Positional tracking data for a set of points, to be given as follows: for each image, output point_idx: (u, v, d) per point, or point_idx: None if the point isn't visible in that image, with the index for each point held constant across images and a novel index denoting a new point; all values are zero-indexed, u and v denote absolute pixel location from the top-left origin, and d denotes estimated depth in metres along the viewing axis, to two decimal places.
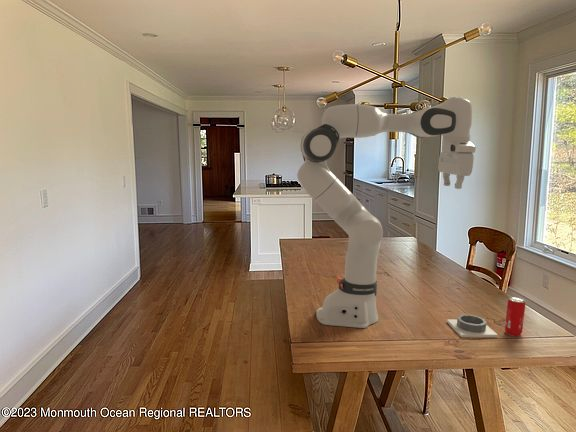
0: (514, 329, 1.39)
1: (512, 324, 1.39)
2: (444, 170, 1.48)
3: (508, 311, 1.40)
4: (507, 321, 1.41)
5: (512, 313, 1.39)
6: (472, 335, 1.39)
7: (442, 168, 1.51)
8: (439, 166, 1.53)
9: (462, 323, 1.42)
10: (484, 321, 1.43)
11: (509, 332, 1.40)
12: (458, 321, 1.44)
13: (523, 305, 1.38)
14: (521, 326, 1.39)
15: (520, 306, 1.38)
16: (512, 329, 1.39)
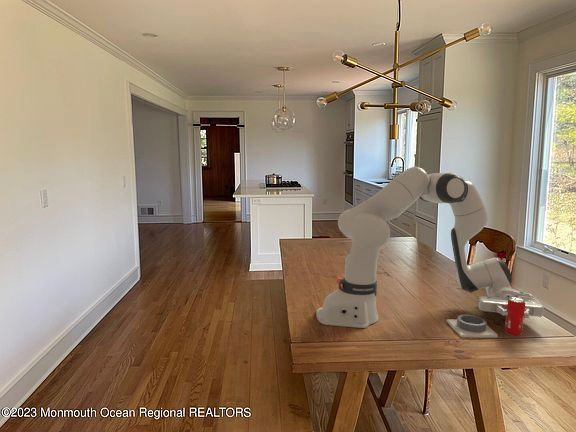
0: (514, 329, 1.39)
1: (512, 324, 1.39)
2: (501, 302, 1.46)
3: (508, 311, 1.40)
4: (507, 321, 1.41)
5: (512, 313, 1.39)
6: (472, 335, 1.39)
7: (493, 301, 1.47)
8: (485, 300, 1.48)
9: (462, 323, 1.42)
10: (484, 321, 1.43)
11: (509, 332, 1.40)
12: (458, 321, 1.44)
13: (523, 305, 1.38)
14: (521, 326, 1.39)
15: (520, 306, 1.38)
16: (512, 329, 1.39)
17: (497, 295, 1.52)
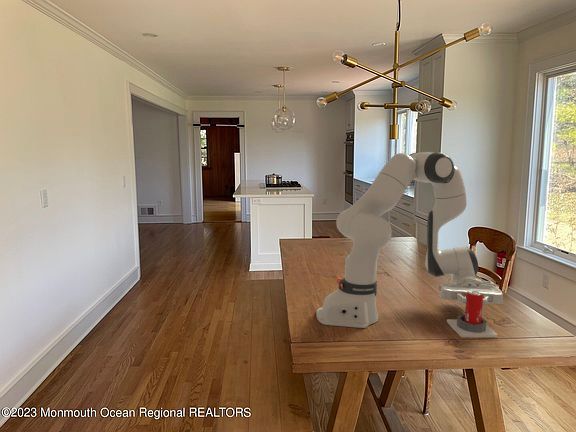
0: (472, 322, 1.41)
1: (470, 316, 1.41)
2: (461, 290, 1.48)
3: (466, 304, 1.43)
4: (466, 314, 1.43)
5: (470, 305, 1.41)
6: (472, 335, 1.39)
7: (454, 289, 1.49)
8: (446, 288, 1.50)
9: (462, 323, 1.42)
10: (484, 321, 1.43)
11: None
12: (458, 321, 1.44)
13: (480, 298, 1.40)
14: (479, 319, 1.41)
15: (476, 299, 1.40)
16: (470, 321, 1.41)
17: (459, 283, 1.54)
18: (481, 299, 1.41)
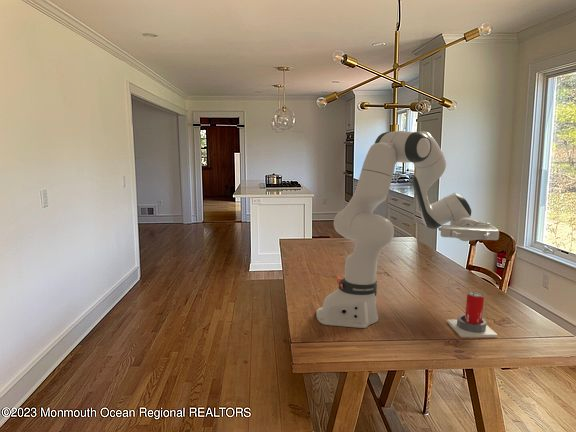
0: (472, 323, 1.41)
1: (470, 318, 1.41)
2: (460, 228, 1.57)
3: (467, 305, 1.42)
4: (466, 315, 1.43)
5: (470, 307, 1.41)
6: (472, 335, 1.39)
7: (453, 227, 1.58)
8: (445, 227, 1.59)
9: (462, 323, 1.42)
10: (484, 321, 1.43)
11: None
12: (458, 321, 1.44)
13: (481, 299, 1.40)
14: (479, 320, 1.41)
15: (477, 301, 1.39)
16: (471, 323, 1.41)
17: (458, 224, 1.63)
18: (482, 301, 1.40)
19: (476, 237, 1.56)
